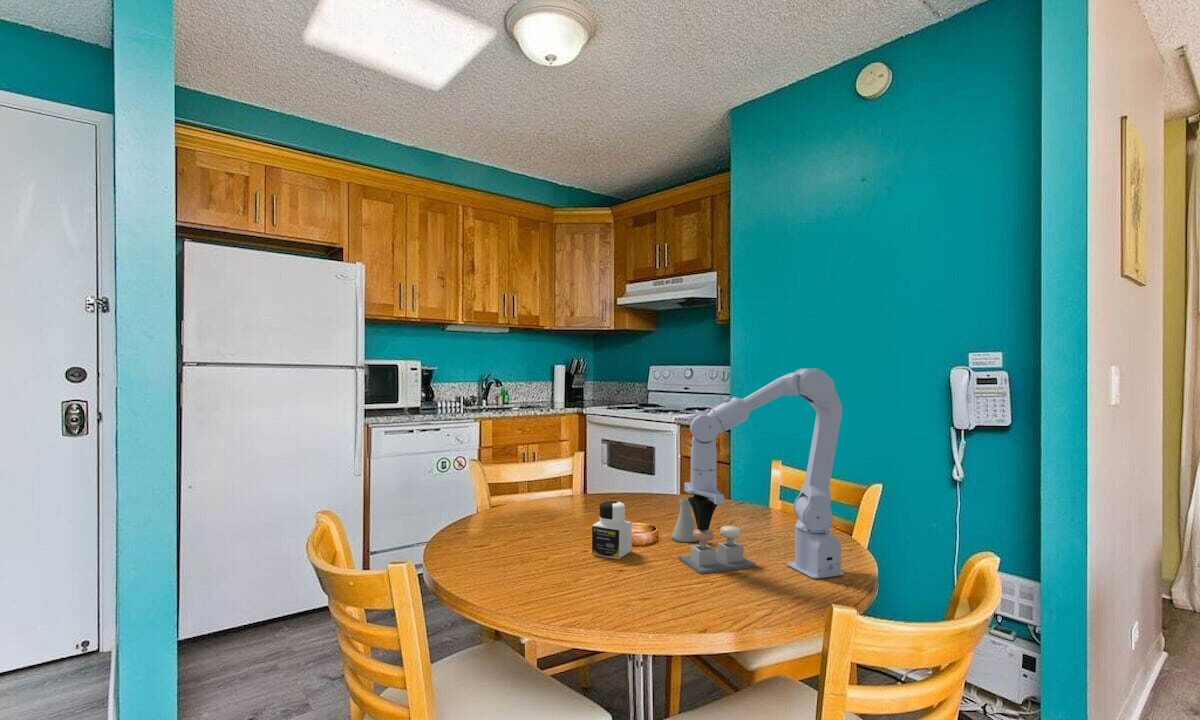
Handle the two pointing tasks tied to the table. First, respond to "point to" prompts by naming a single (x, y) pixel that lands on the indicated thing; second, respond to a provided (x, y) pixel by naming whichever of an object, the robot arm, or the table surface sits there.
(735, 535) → the cream knob
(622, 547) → the medicine bottle
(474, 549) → the table surface
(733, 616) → the table surface
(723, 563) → the knob mount
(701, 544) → the terracotta knob
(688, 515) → the flask
